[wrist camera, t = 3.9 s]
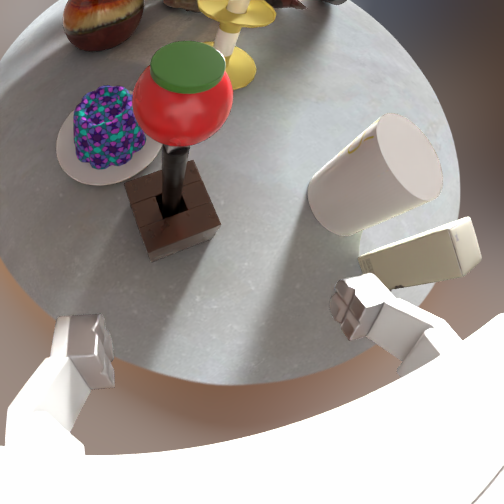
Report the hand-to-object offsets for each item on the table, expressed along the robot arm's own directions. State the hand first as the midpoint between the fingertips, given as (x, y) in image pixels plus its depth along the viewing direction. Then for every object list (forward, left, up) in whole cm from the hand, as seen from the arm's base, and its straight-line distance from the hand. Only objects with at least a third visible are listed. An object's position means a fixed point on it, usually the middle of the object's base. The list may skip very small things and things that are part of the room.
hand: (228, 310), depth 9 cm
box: (-5, -21, -16) cm, 27 cm away
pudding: (+19, +2, -16) cm, 25 cm away
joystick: (+8, -1, -16) cm, 18 cm away
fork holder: (+8, -1, -16) cm, 18 cm away
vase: (+38, 0, -16) cm, 41 cm away
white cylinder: (+4, -19, -16) cm, 26 cm away
